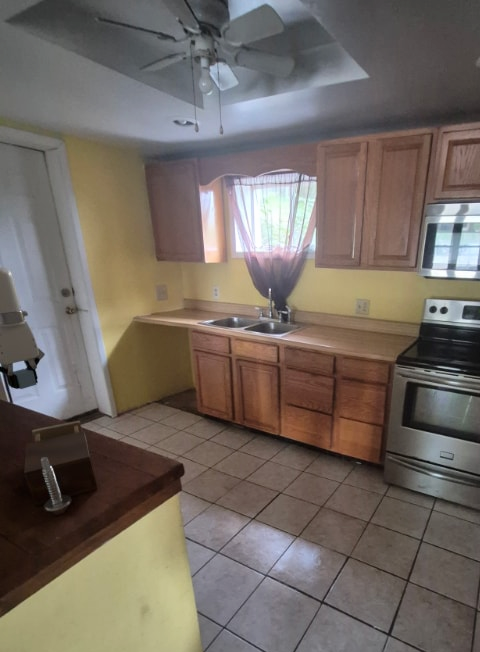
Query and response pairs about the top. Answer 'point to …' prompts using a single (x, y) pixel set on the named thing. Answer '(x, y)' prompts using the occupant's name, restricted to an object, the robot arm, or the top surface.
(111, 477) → the top surface
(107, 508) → the top surface
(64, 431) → the drawer
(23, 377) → the block
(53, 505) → the screw
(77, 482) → the cabinet
